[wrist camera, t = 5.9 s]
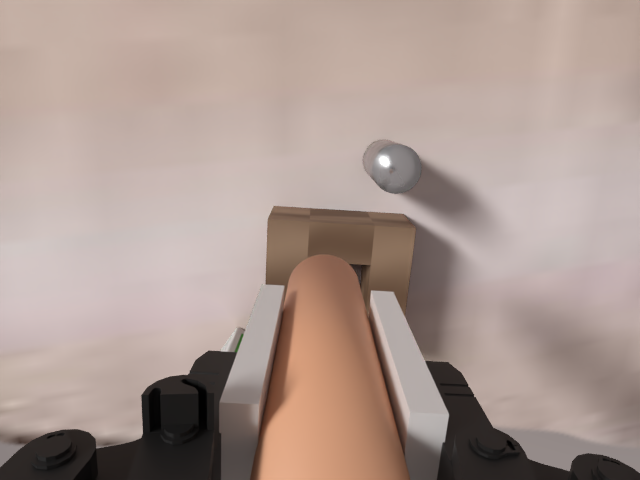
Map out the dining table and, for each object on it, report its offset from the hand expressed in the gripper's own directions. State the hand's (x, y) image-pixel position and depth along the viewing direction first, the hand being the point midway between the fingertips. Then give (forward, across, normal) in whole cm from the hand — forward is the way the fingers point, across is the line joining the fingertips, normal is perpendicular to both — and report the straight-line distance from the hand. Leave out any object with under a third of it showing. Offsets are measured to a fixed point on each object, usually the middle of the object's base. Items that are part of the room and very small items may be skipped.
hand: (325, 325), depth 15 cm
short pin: (+20, +4, +4) cm, 20 cm away
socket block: (+20, +1, -4) cm, 20 cm away
